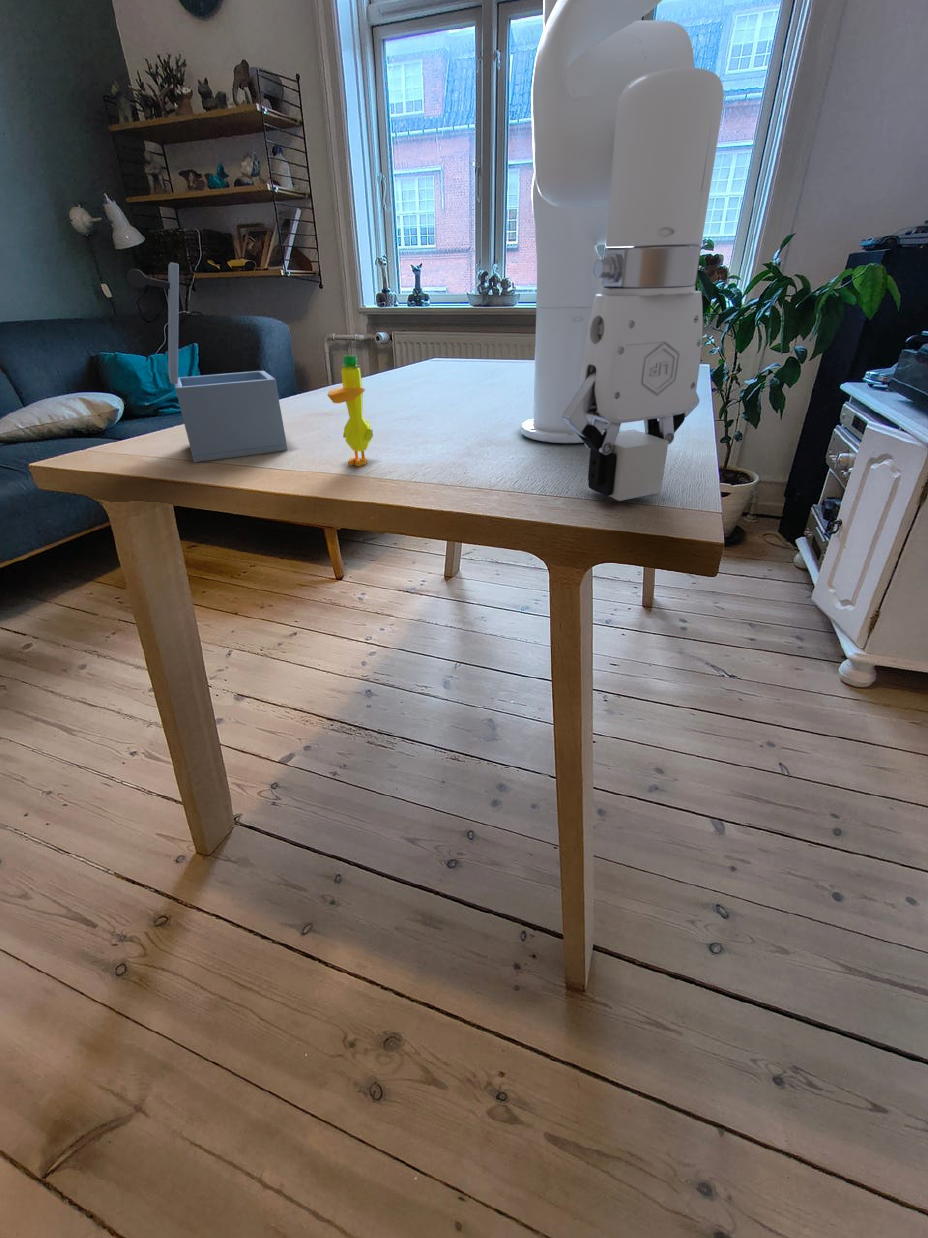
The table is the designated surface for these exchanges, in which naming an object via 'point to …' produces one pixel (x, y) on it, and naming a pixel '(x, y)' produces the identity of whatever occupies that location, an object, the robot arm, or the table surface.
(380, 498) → the table surface
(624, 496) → the pale grey cube
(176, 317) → the box lid
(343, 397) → the toy figure
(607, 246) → the robot arm
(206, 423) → the grey storage bin
